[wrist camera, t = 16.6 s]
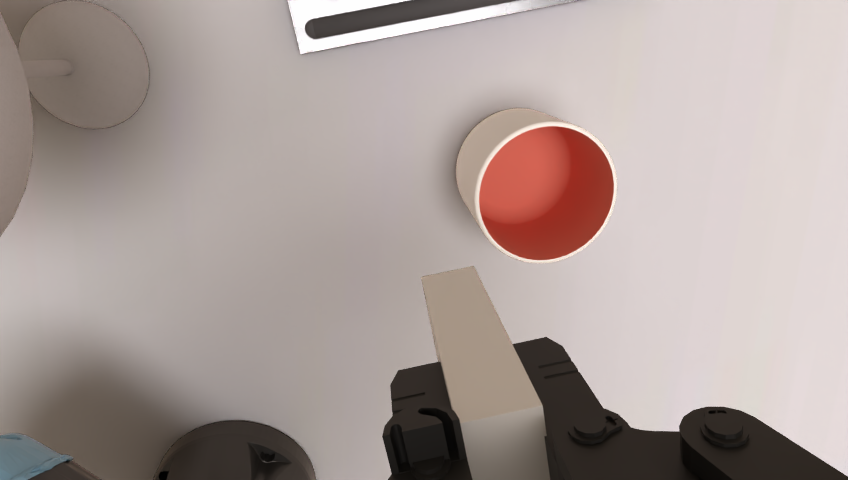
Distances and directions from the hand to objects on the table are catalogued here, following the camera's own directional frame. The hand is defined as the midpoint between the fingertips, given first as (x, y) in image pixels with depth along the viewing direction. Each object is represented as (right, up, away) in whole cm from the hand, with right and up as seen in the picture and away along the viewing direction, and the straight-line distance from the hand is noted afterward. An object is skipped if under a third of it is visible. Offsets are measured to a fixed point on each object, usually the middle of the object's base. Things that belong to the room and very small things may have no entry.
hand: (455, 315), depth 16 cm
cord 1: (+3, +20, +26) cm, 33 cm away
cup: (+7, +8, +32) cm, 34 cm away
